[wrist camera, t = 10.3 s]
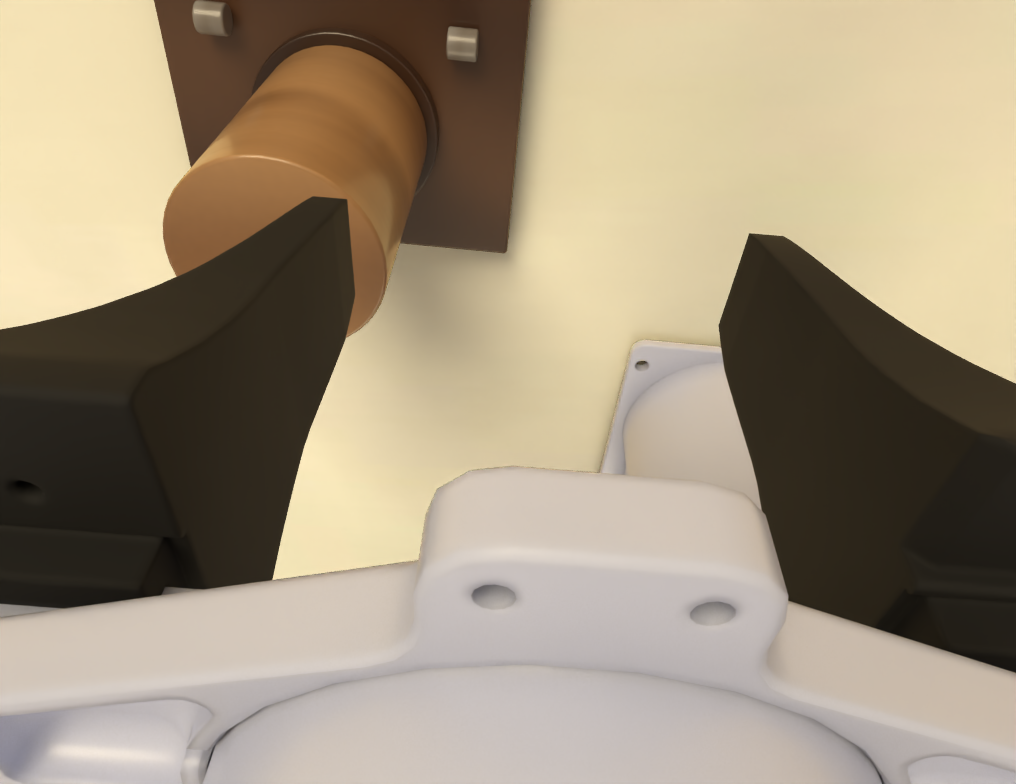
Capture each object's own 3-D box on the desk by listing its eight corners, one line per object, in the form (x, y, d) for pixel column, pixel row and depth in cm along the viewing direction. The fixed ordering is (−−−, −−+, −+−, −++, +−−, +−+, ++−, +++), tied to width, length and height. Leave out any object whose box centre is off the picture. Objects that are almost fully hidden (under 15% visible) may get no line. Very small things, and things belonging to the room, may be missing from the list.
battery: (437, 218, 23) (400, 373, 17) (268, 201, 23) (174, 352, 17) (441, 37, 19) (397, 159, 14) (240, 16, 19) (110, 130, 14)
